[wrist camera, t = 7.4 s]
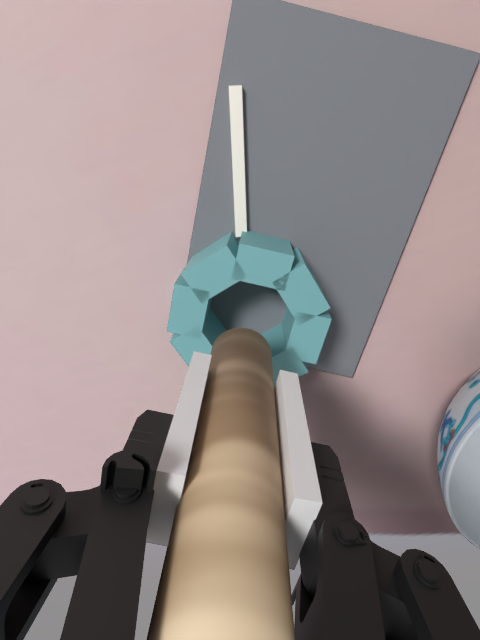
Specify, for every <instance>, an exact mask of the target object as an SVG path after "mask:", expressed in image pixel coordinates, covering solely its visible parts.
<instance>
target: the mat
mask: <svg viewBox="0 0 480 640" xmlns="http://www.w3.org/2000/svg"><path fill="white" fill-rule="evenodd" d="M479 59H480V53H477V52H474V51H470V50H466V49H462V48H458V47H455V46H451V45H447V44H443V43H440V42H436V41H432V40H428V39H424V38H421V37H417V36H413V35H409V34H406V33H402V32H398V31H394V30H390V29H387V28H383V27H379V26H375V25H372V24H368V23H364V22H360V21H356V20H353V19H349V18H345V17H341V16H338V15H334V14H330V13H326V12H322V11H319V10H315V9H311V8H307V7H304V6H300V5H296V4H292V3H288V2H285V1H281V0H233V1H232V6H231V12H230V18H229V24H228V30H227V35H226V41H225V47H224V53H223V58H222V64H221V70H220V76H219V82H218V87H217V93H216V99H215V105H214V111H213V116H212V122H211V128H210V134H209V139H208V145H207V151H206V157H205V163H204V168H203V174H202V180H201V186H200V192H199V197H198V203H197V209H196V215H195V220H194V226H193V232H192V238H191V244H190V249H189V255H188V261H187V264H188V262H189V261H190V259H191V258H192V256H193V255H195V254H197V253H198V252H200V251H201V250H203V249H204V248H206V247H208V246H209V245H211V244H212V243H214V242H215V241H217V240H219V239H220V238H222V237H223V236H225V235H226V234H228V233H230V232H231V231H232V232H233V234H234V236H235V237H236V235H235V214H234V192H233V170H232V148H231V126H230V104H229V86H235V85H242V95H243V125H244V154H245V184H246V213H247V231H251V232H256V233H260V234H264V235H268V236H273V237H277V238H281V239H285V240H289V241H290V244H291V247H292V250H293V249H295V248H296V247H298V248H299V250H300V251H301V253H302V255H303V257H304V258H305V260H306V262H307V263H308V265H309V267H310V269H311V270H312V272H313V274H314V276H315V277H316V279H317V281H318V282H319V284H320V286H321V288H322V290H323V293H324V295H325V297H326V299H327V301H328V303H329V306H330V309H328V312H329V314H330V316H331V319H332V320H331V323H330V326H329V328H328V331H327V334H326V337H325V340H324V343H323V346H322V348H321V351H320V354H319V357H318V360H317V363H316V364H312V363H308V362H307V367H308V368H310V369H315V370H319V371H324V372H328V373H333V374H338V375H342V376H347V377H351V378H352V376H353V373H354V371H355V368H356V366H357V363H358V361H359V358H360V356H361V353H362V351H363V348H364V346H365V343H366V341H367V338H368V336H369V333H370V331H371V328H372V326H373V323H374V321H375V318H376V316H377V313H378V311H379V308H380V306H381V303H382V301H383V298H384V296H385V293H386V291H387V288H388V286H389V283H390V281H391V278H392V276H393V273H394V271H395V268H396V266H397V263H398V261H399V258H400V256H401V254H402V251H403V249H404V246H405V244H406V241H407V239H408V236H409V234H410V231H411V229H412V226H413V224H414V221H415V219H416V216H417V214H418V211H419V209H420V206H421V204H422V201H423V199H424V196H425V194H426V191H427V189H428V186H429V184H430V181H431V179H432V176H433V174H434V171H435V169H436V166H437V164H438V161H439V159H440V156H441V154H442V151H443V149H444V146H445V144H446V141H447V139H448V136H449V134H450V131H451V129H452V126H453V124H454V121H455V119H456V116H457V114H458V111H459V109H460V106H461V104H462V101H463V99H464V96H465V94H466V91H467V89H468V86H469V84H470V81H471V79H472V76H473V74H474V71H475V69H476V66H477V64H478V61H479ZM240 238H241V237H236V239H237V240H238V242H240ZM286 306H287V305H286V304H285V302H284V300H283V299H282V297H281V296H280V294H279V292H278V291H277V289H273V288H269V287H265V286H260V285H256V284H252V283H247V282H243V281H239V282H237V283H235V284H233V285H232V286H230V287H228V288H227V289H225V290H223V291H222V292H220V293H218V294H217V295H215V296H213V297H212V299H211V303H210V308H211V309H212V311H213V312H214V313H215V315H216V316H217V318H218V319H219V320H220V322H221V323H222V325H223V326H224V328H225V329H226V330H230V329H233V328H248V329H252V330H254V331H256V332H258V333H260V334H262V333H264V332H266V331H268V330H269V329H271V328H273V327H275V326H277V325H279V324H280V323H282V320H283V317H284V313H285V310H286Z"/></svg>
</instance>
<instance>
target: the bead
mask: <svg viewBox="0 0 480 640" xmlns="http://www.w3.org/2000/svg"><path fill="white" fill-rule="evenodd" d="M239 281H243V282H247V283H252V284H256V285H260V286H265V287H269V288H273V289H277V291H278V292H279V294H280V296H281V297H282V299H283V300H284V302H285V304H286V305H287V306H286V310H285V313H284V317H283V320H282V323H280V324H279V325H277V326H275V327H273V328H271V329H269V330H268V331H266V332H264V333H262V334H261V335H262V336H263V337H264V338H265V339H266V340H267V342H268V343H269V345H270V348H271V355H272V367H273V379H274V388H275V384H276V381H277V378H278V374H279V371H280V370H284V371H288V372H293V373H297V374H298V377H300V376H302V375H304V374H306V373H308V372H309V371H308V367H307V362H308V363H312V364H316V363H317V360H318V357H319V354H320V351H321V348H322V346H323V343H324V340H325V337H326V334H327V331H328V328H329V326H330V323H331V320H332V319H331V316H330V314H329V312H328V309H330V306H329V303H328V301H327V299H326V297H325V295H324V293H323V290H322V288H321V286H320V284H319V282H318V281H317V279H316V277H315V276H314V274H313V272H312V270H311V269H310V267H309V265H308V263H307V262H306V260H305V258H304V257H303V255H302V253H301V251H300V250H299V248H298V247H296V248H295V249H293V250H292V247H291V244H290V241H289V240H285V239H281V238H277V237H273V236H268V235H264V234H260V233H256V232H251V231H247V232H245V231H242V233H241V238H240V242H238V240H237V239H236V237H235V236H234V234H233V232H232V231H231V232H230V233H228V234H226V235H225V236H223V237H222V238H220V239H219V240H217V241H215V242H214V243H212V244H211V245H209V246H208V247H206V248H204V249H203V250H201V251H200V252H198V253H197V254H195V255H193V256H192V258H191V259H190V261H189V262H188V264H187V265H186V267H185V268H184V270H183V271H182V273H181V274H180V276H179V278H178V279H177V281H176V282H175V284H174V290H173V296H172V302H171V309H170V315H169V321H168V327H167V332H171V333H173V335H172V338H171V340H170V343H171V344H172V346H173V347H174V348H175V349H176V351H177V352H178V353H179V355H180V356H181V357H182V359H183V360H184V361H185V362H186V364H187V365H188V366H189V365H190V362H191V359H192V355H193V352H194V351H195V352H200V353H204V354H209V355H210V354H211V350H212V346H213V344H214V342H215V340H216V339H217V338H218V337H219V336H220V335H221V334H222V333H224V332H225V331H227V330H226V329H225V328H224V326H223V325H222V323H221V322H220V320H219V319H218V318H217V316H216V315H215V313H214V312H213V311H212V309H211V308H210V303H211V299H212V297H213V296H215V295H217V294H218V293H220V292H222V291H223V290H225V289H227V288H228V287H230V286H232V285H233V284H235V283H237V282H239Z"/></svg>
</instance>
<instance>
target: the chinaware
mask: <svg viewBox="0 0 480 640" xmlns="http://www.w3.org/2000/svg"><path fill="white" fill-rule="evenodd" d="M437 466H438V474H439V481H440V486H441V490H442V494H443V498H444V501H445V505H446V507H447V510H448V513H449V515H450V517H451V519H452V521H453V523H454V525H455V526H456V528H457V529H458V530H459V531H460V533H461V534H462V535H463V536H464V537H465V538H466V539H467V540H468V541H469V542H471V543H472V544H473V545H475V546H476V547H478V548H479V549H480V369H479V370H478V371H477V372H475V373H474V374H473V375H472V376H471V377H470V378H469V379H468V381H467V382H466V383H465V384H464V385H463V386H462V387H461V389H460V390H459V391H458V392H457V394H456V395H455V396H454V398H453V399H452V401H451V403H450V405H449V406H448V408H447V410H446V413H445V415H444V418H443V420H442V423H441V427H440V431H439V436H438V444H437Z"/></svg>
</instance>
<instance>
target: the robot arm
mask: <svg viewBox="0 0 480 640" xmlns="http://www.w3.org/2000/svg"><path fill="white" fill-rule="evenodd" d="M211 356H212V355H209V354H204V353H200V352H195V351H194V352H193V355H192V359H191V362H190V365H189V368H188V371H187V375H186V378H185V381H184V384H183V387H182V391H181V394H180V397H179V400H178V404H177V407H176V410H175V413H174V415H171V414H166V413H161V412H156V411H151V410H146V411H145V412H144V413H143V414H142V415H140V416H139V417H138V418H137V420H136V422H135V424H134V426H133V429H132V431H131V433H130V435H129V438H128V440H127V442H126V444H125V447H124V449H123V451H120V452H117V453H114V454H113V455H111V456H110V457H109V458H108V459H106V461H105V463H104V465H103V467H102V477H101V485H100V486H98V487H95V488H93V489H90V490H84V491H75V492H66V491H65V490H64V488H63V487H62V486H61V484H59V483H57V482H55V481H53V480H46V479H40V480H34V481H30V482H27V483H25V484H23V485H21V486H19V487H18V488H17V489H16V490H14V491H13V492H12V493H11V494H10V495H9V496H8V498H7V499H6V500H5V501H4V502H3V503H2V505H1V506H0V640H23V639H24V637H25V635H26V634H27V632H28V630H29V628H30V627H31V625H32V623H33V621H34V620H35V618H36V616H37V614H38V613H39V611H40V609H41V607H42V606H43V604H44V602H45V600H46V599H47V597H48V595H49V593H50V591H51V589H52V588H53V586H54V584H55V582H56V581H57V579H58V578H62V577H68V576H74V575H77V578H76V582H75V586H74V590H73V594H72V597H71V601H70V605H69V608H68V612H67V616H66V620H65V624H64V627H63V631H62V635H61V638H60V640H134V637H135V629H136V621H137V612H138V603H139V595H140V587H141V578H142V569H143V561H144V552H145V545H146V542H147V543H153V544H158V545H163V546H168V542H169V538H170V533H171V529H172V524H173V520H174V515H175V511H176V508H177V506H178V504H179V502H180V499H181V495H182V490H183V486H184V481H185V477H186V472H187V468H188V463H189V458H190V454H191V449H192V444H193V440H194V435H195V430H196V426H197V421H198V417H199V412H200V407H201V403H202V398H203V393H204V389H205V384H206V380H207V375H208V370H209V366H210V361H211ZM274 391H275V404H276V416H277V428H278V440H279V452H280V465H281V477H282V489H283V501H284V513H285V525H286V538H287V550H288V562H289V569H292V570H294V569H295V567H296V564H297V562H298V560H299V557H300V565H301V574H300V577H299V579H298V581H297V584H296V586H295V588H294V591H293V593H292V595H291V599H292V605H293V604H294V601H295V599H296V604H295V626H294V635H295V640H480V630H479V628H478V626H477V624H476V623H475V621H474V619H473V617H472V615H471V613H470V611H469V609H468V608H467V606H466V604H465V602H464V600H463V598H462V597H461V595H460V593H459V591H458V589H457V587H456V585H455V584H454V582H453V580H452V578H451V576H450V575H449V573H448V572H447V570H446V569H445V568H444V566H443V565H442V564H441V563H440V562H438V560H436V559H435V558H434V557H433V556H431V555H429V554H427V553H426V552H424V551H421V550H417V549H410V550H406V551H405V552H404V553H403V554H402V556H401V557H400V556H398V555H396V554H394V553H392V552H390V551H388V550H385V549H384V548H381V547H380V546H378V545H376V544H375V543H373V542H372V541H371V540H370V538H369V535H368V533H367V532H366V530H365V529H364V527H363V526H362V525H361V524H360V523H359V522H357V521H356V520H355V519H354V515H353V511H352V508H351V504H350V500H349V497H348V493H347V489H346V486H345V482H344V478H343V475H342V472H341V467H340V464H339V460H338V457H337V456H336V454H335V453H334V452H333V450H332V449H331V448H330V446H327V445H322V444H317V443H312V442H311V441H310V436H309V430H308V425H307V420H306V415H305V410H304V405H303V399H302V394H301V389H300V384H299V379H298V374H297V373H293V372H288V371H284V370H280V371H279V374H278V378H277V381H276V384H275V388H274Z"/></svg>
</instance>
